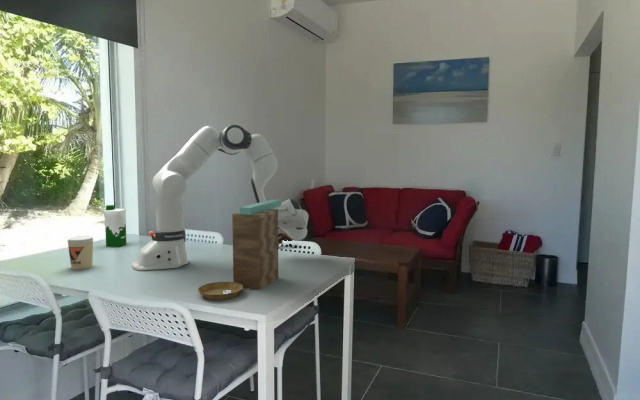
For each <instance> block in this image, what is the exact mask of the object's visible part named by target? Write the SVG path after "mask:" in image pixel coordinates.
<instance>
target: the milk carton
mask: <svg viewBox="0 0 640 400" xmlns="http://www.w3.org/2000/svg"><path fill="white" fill-rule="evenodd" d="M103 218H104V226H105V227H104V230H105V247H107V248H111V247H112V248H121V247H123V246H125V245H127V225H126V224H127V223H126V222H127V221H126V208H116V206H115V205H114V204H108V205H107V204H106V205H105V209H104V210H103Z"/></svg>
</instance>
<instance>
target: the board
mask: <svg viewBox="0 0 640 400" xmlns="http://www.w3.org/2000/svg"><path fill="white" fill-rule="evenodd" d="M281 203H282V199H269V200H266V201H264V202H260V203H257V202H256V203H252V204H248V205H244V206H240V207H239V212H240V214H245V215H252V214H255V213H259V212H262V211H266V210H269V209H272V208H276V207H279V206H281Z"/></svg>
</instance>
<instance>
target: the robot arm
mask: <svg viewBox="0 0 640 400" xmlns="http://www.w3.org/2000/svg"><path fill="white" fill-rule="evenodd" d="M217 151H219V152H222V153H224V154H227V155H231V156H232V155H237V154H239V153H240V152H241V153H244V154H245V155H246V157H247V158H248V160H249V162H250V165H251V168H252V176H251V178H250V183H251V188H252V191H253V195H254V199H255V202H256V203H260V202H264V201H267V199H266V196H265V192H264V189H265V186H266V185H267V183H268V182H269V180H270V179H271V178H273V176H274V175H275V174H276V173H277V169H278V165H279V163H278V160H277V157H276V155H275V152H274V151H273V149H272V148H271V145H270V144H269V143H268V141H267V139H266V138H265V137H264V136H263V135H262V134H259V133H253V134H252V133H251V132H249V131H248V130H246V129H244V127H242V126H241V125H238V124H230V125H227V126H226V127H225V128H224V129H223V130H222V131H220V130H217V129H216V128H215V127H213V126H211V125H206V126H203V127H202V128H200V129H199V130H198V131H197V132H196V133H195V134H193V135H192V137H191V138H189V140H188V141H186V143H185V144H184V145H183V146H182V148H181V149H180V150H179V151H178V152H177V153H176V154H175V156H173V157H172V158H171V159H170V160H169V161H167V163H166V164H165V165H164V166H162V168H161V169H160V170H159V171H158V172H157V173H156V174H155V175H154V177H153V179H152V187H153V189H154V192H156V193H157V201H156V202H157V203H156V211H155V221H156V224H155V226H156V229H155V230H154V231H153V230H151V231H150V230H149V232H148V236H150V237H151V240H150V241H149V242H147V244H145V245H144V246H143V247H142V248H140V250H139V251H138V254H137V260H135V261H133V262H132V263H131V266H132V267H131V268H133V269H134V270H136V271H153V270H154V271H155V270H162V269H163V270H165V269H167V270H168V269H176V268H181V266H185V265H187V264H189V262H190V260H189V256H188V253H187V249H186V248H187V247H186V239H187V237H186V229H185V219H184V218H185V217H184V213H185V212H184V211H185V209H184V208H185V203H186V191H187V181H188V180H189V179H191V178H192V177H193V176H194V175H195V174H196V173H198V172H199V171H200V169H201V168H202V167H203V166H204V165H205V164H206V163H207V162H208V160H209V159H210V157H212V155H213V154H214V153H215V152H217ZM272 209H278V230H279V229H281V230H282V231H283V232H284V233H286V234H287V235H288V236H289V237H290V238H291V240H292V239H293V240H294V241H302V240H304V239H305V238H306V237H307V235H308V228H307V227H308V221H309V212H307V211H306V209H303V208H302V207H301V205H300V204H299V203H298V201H297V200H295V199H294V198H289V199H287V200H283V201H281V206H279V207H276V208H272Z"/></svg>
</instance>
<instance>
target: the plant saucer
mask: <svg viewBox="0 0 640 400" xmlns="http://www.w3.org/2000/svg"><path fill="white" fill-rule="evenodd" d="M242 289H244V288H243V286H242V285H241V284H239V283H235V282H233V281H214V282H209V283H205V284H202V285H200V286H199V287H198V288H197V291H198V293H199V294H200V295H201V296H203V297H204V298H205V299H208V300H213V301H214V300H215V301H218V300H219V301H220V300H221V299H222V300H227V299H228V298H229V299H232V298H235V297H236V296H238V294H239V293H241V291H242ZM225 290H231V293H228V294H223V291H225ZM225 292H226V291H225ZM234 296H235V297H234ZM229 299H228V300H229Z"/></svg>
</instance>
